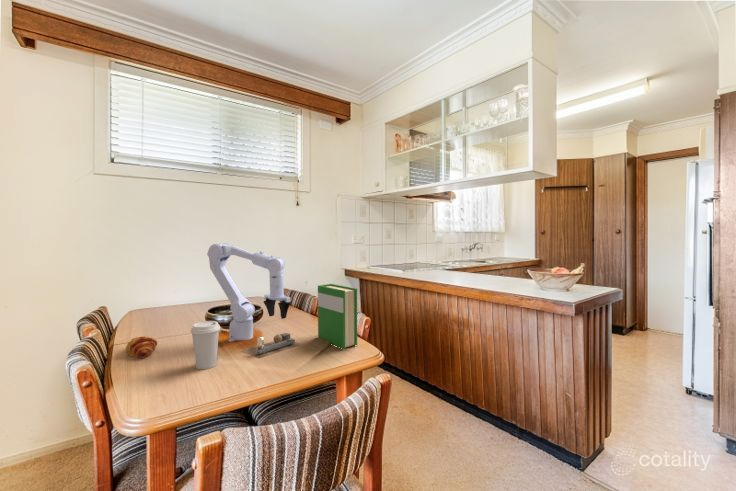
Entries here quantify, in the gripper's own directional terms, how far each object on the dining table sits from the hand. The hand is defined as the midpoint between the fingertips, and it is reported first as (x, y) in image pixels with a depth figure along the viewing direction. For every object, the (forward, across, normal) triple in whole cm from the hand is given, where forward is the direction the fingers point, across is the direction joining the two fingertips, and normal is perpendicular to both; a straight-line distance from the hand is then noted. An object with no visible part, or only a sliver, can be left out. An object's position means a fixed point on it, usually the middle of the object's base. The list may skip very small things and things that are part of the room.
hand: (277, 317), depth 143 cm
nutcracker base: (+10, +7, -9) cm, 16 cm away
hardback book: (+11, +23, +12) cm, 28 cm away
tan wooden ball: (+9, +5, -5) cm, 12 cm away
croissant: (+10, -35, -39) cm, 53 cm away
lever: (+9, +10, -10) cm, 17 cm away
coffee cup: (+10, -1, -32) cm, 34 cm away
